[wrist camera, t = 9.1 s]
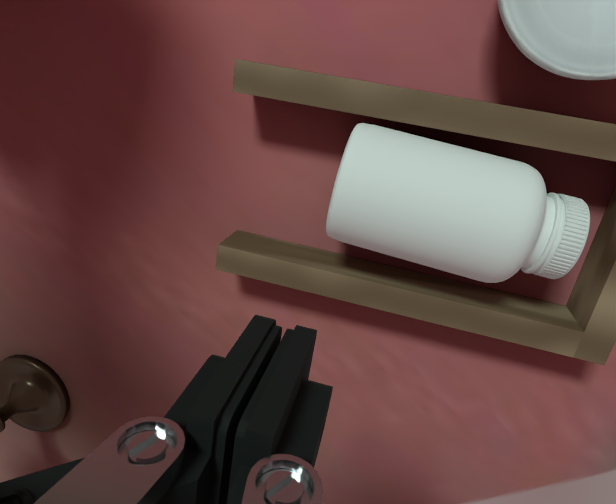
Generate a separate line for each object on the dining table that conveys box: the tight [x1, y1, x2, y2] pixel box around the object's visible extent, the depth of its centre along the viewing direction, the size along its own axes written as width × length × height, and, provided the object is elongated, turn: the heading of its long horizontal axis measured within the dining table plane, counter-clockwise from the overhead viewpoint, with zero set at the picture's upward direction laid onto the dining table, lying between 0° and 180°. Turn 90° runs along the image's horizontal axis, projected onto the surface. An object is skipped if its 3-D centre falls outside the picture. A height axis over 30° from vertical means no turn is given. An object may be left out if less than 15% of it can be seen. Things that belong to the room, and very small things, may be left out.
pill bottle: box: [326, 123, 590, 283], centre depth 30 cm, size 8×8×15 cm
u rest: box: [216, 59, 616, 365], centre depth 32 cm, size 15×28×4 cm, turn 81°
